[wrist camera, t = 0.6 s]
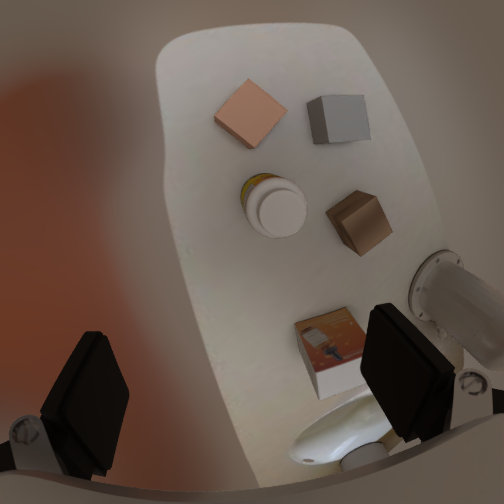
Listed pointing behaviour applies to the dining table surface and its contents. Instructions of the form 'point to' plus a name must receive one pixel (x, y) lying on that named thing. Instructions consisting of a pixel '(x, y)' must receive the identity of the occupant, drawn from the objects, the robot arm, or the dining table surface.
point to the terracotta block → (249, 114)
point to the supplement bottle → (273, 205)
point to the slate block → (338, 119)
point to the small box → (332, 352)
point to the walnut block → (360, 222)
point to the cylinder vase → (364, 456)
